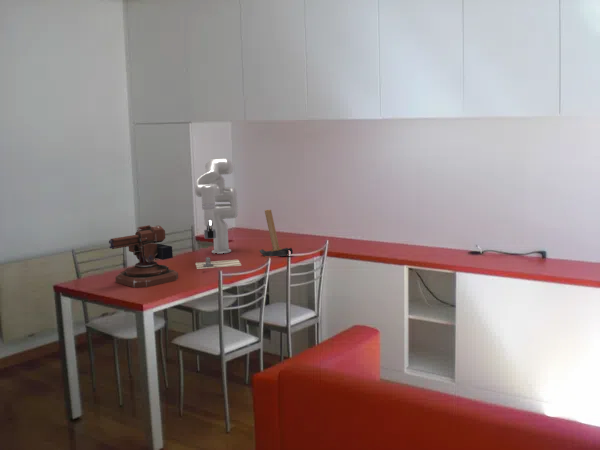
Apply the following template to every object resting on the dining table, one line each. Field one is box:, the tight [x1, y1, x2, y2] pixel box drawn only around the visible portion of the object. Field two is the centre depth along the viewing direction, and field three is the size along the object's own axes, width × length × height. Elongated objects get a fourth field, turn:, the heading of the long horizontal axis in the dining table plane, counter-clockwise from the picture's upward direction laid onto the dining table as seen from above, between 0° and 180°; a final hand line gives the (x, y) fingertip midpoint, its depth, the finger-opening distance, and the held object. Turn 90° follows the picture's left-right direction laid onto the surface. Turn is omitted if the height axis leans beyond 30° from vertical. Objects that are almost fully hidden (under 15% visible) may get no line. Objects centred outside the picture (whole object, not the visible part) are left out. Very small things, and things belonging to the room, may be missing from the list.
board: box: [195, 257, 242, 270], centre depth 416 cm, size 18×26×6 cm
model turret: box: [108, 225, 179, 288], centre depth 381 cm, size 28×35×30 cm
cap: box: [203, 228, 216, 240], centre depth 411 cm, size 7×7×5 cm
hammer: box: [258, 209, 293, 257], centre depth 439 cm, size 20×5×30 cm, turn 70°
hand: (210, 236), depth 411 cm, fingers closed on cap, 6 cm apart
